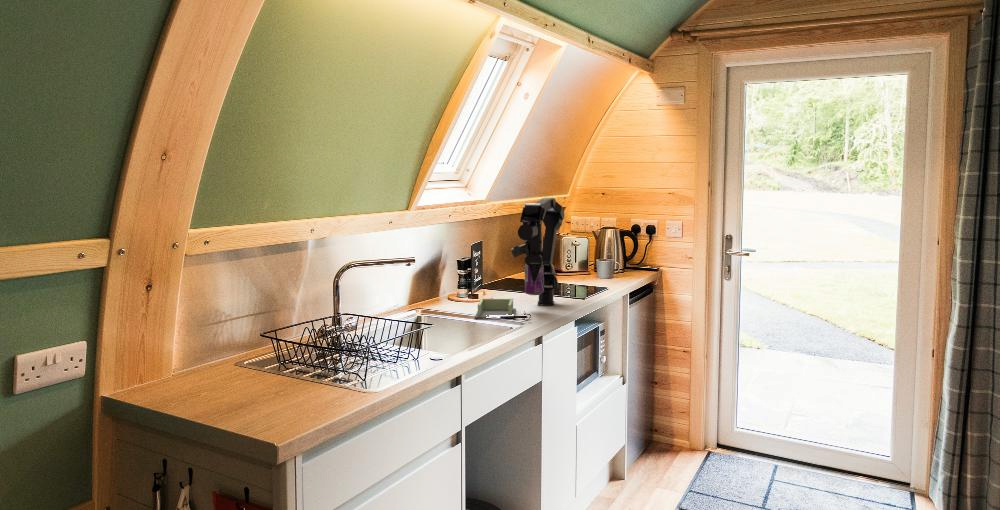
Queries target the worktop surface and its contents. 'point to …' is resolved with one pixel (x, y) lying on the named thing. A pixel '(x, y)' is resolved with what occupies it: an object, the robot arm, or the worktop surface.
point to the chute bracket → (494, 307)
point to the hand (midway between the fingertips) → (534, 279)
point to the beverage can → (534, 282)
